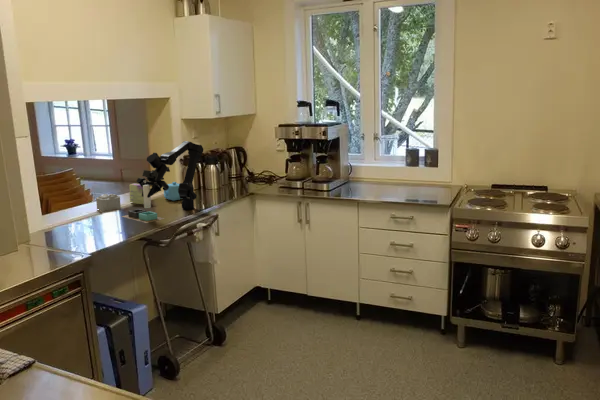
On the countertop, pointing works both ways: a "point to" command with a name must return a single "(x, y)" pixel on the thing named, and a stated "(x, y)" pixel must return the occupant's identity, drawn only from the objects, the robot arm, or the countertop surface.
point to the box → (136, 193)
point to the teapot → (172, 192)
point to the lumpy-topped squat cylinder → (108, 202)
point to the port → (148, 216)
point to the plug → (145, 193)
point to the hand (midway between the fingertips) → (145, 196)
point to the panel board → (135, 215)
